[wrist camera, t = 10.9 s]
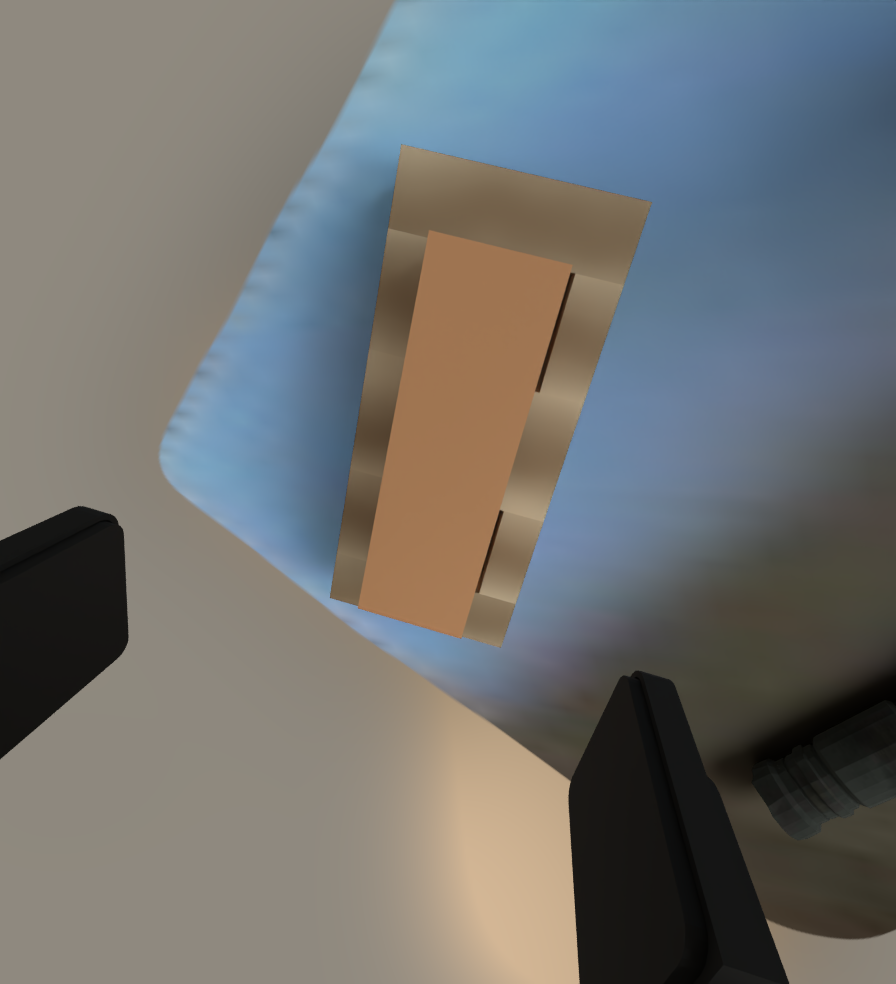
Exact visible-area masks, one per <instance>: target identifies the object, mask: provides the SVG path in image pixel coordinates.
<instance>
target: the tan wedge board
mask: <svg viewBox="0 0 896 984" xmlns="http://www.w3.org/2000/svg"><path fill="white" fill-rule="evenodd" d="M572 266H573V265H571V264H567V263H563V262H559V261H555V260H551V259H546V258H542V257H538V256H534V255H530V254H526V253H522V252H518V251H513V250H509V249H505V248H501V247H497V246H493V245H489V244H485V243H480V242H476V241H472V240H468V239H464V238H460V237H456V236H452V235H447V234H443V233H439V232H435V231H431V230H429V233H428V238H427V243H426V248H425V254H424V259H423V264H422V270H421V275H420V280H419V286H418V291H417V296H416V302H415V307H414V312H413V317H412V323H411V328H410V333H409V339H408V344H407V349H406V355H405V360H404V365H403V371H402V376H401V381H400V386H399V392H398V397H397V402H396V408H395V413H394V418H393V424H392V429H391V434H390V440H389V445H388V450H387V456H386V461H385V466H384V471H383V477H382V482H381V487H380V493H379V498H378V503H377V509H376V514H375V519H374V525H373V530H372V535H371V540H370V546H369V551H368V556H367V562H366V567H365V572H364V578H363V583H362V588H361V594H360V599H359V604H358V608H359V609H362V610H365V611H369V612H372V613H376V614H379V615H382V616H386V617H389V618H393V619H396V620H399V621H403V622H406V623H410V624H413V625H416V626H420V627H423V628H427V629H430V630H433V631H437V632H440V633H444V634H447V635H450V636H454V637H457V638H462V634H463V631H464V628H465V624H466V621H467V618H468V614H469V611H470V608H471V604H472V601H473V598H474V594H475V591H476V587H477V584H478V581H479V577H480V574H481V571H482V567H483V564H484V561H485V557H486V554H487V551H488V547H489V544H490V541H491V537H492V534H493V530H494V527H495V524H496V520H497V517H498V514H499V510H500V507H501V504H502V500H503V497H504V494H505V490H506V487H507V484H508V480H509V477H510V473H511V470H512V467H513V463H514V460H515V457H516V453H517V450H518V447H519V443H520V440H521V437H522V433H523V430H524V427H525V423H526V420H527V417H528V413H529V410H530V406H531V403H532V400H533V396H534V393H535V390H536V386H537V383H538V380H539V376H540V373H541V370H542V366H543V363H544V360H545V356H546V353H547V349H548V346H549V343H550V339H551V336H552V333H553V329H554V326H555V323H556V319H557V316H558V313H559V309H560V306H561V303H562V299H563V296H564V292H565V289H566V286H567V282H568V279H569V276H570V272H571V269H572Z"/></svg>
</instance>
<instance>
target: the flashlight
mask: <svg viewBox="0 0 896 984" xmlns="http://www.w3.org/2000/svg"><path fill="white" fill-rule="evenodd" d="M752 772H753V780H752V784H753V785H754V787H755V788H756V790H757V791H758V793H759V794H760V796H761V797H762V799H763V800H764V802H765V803H766V805H767V806H768V808H769V810H770V812H771V814H772V816H773V818H774V819H775V820H776V821H777V823H778V824H779V825H780V826H781V827H782V829H783V830H784V831H785V832H786V833H787V834H788V835H789V836H791V837H792V838H794V839H796V840H802V839H808V838H810V837H812V836H814V835H816V834H817V833H819V832H821V824H822V823H824V822H827V821H829V820H830V819H834V818H836V817H838V816H840V817H842V818H847V817H849V816H851V815H854V809H857V808H859V804H861V805H863V806H866V807H869V808H872V807H874V806H877V805H879V804H881V803H884V802H886V801H888V800H891V799H893V798H895V797H896V703H893V702H891V701H886V700H884V701H882V702H880V703H878V704H876V705H874V706H872V707H871V708H869V709H867V710H865V711H863V712H861V713H859V714H857V715H855V716H853V717H851V718H849V719H847V720H845V721H843V722H842V723H840V724H838V725H836V726H834V727H832V728H830V729H828V730H826V731H824V732H822V733H820V734H818V735H816V736H814V738H813V745H811V744H809V745H807V746H805V747H804V746H802V745H799V746H797V747H795V748H793V749H792V753H791V754H789V755H787V756H786V757H785V758H784V757H783V758H781V759H779V760H777V761H773V760H771V759H766V760H763V761H761V762H759V763H757V764H755V765H754V767H753V769H752Z"/></svg>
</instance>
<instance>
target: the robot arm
mask: <svg viewBox="0 0 896 984" xmlns="http://www.w3.org/2000/svg"><path fill="white" fill-rule="evenodd" d="M127 643H128V616H127V595H126V572H125V551H124V533H123V529H122V528H121V526H119V525H118V521H117V519H116V518H115V517H114V516H113V515H111V514H108V513H104V512H101V511H97V510H94V509H91V508H87V507H83V506H82V507H81V506H78V507H74V508H72V509H69V510H67V511H65V512H63V513H60V514H59V515H56V516H54V517H52V518H49V519H47V520H45V521H43V522H41V523H38V524H36V525H34V526H32V527H29V528H27V529H25V530H23V531H21V532H18V533H16V534H14V535H12V536H10V537H7V538H5V539H3V540H1V541H0V759H1V758H2V757H3V756H4V755H6V754H7V753H8V752H9V751H10V750H12V749H13V748H14V747H15V746H16V745H17V744H18V743H20V742H21V741H22V740H23V739H24V738H25V737H27V736H28V735H29V734H30V733H31V732H33V731H34V730H35V729H36V728H37V727H38V726H39V725H41V724H42V723H43V722H44V721H45V720H46V719H48V718H49V717H50V716H51V715H52V714H53V713H55V712H56V711H57V710H58V709H59V708H60V707H62V706H63V705H64V704H65V703H66V702H67V701H68V700H70V699H71V698H72V697H73V696H74V695H75V694H77V693H78V692H79V691H80V690H81V689H82V688H84V687H85V686H86V685H87V684H88V683H90V682H91V681H92V680H93V679H94V678H95V677H96V676H98V675H99V674H100V673H101V672H102V671H104V670H105V668H107V667H108V666H109V665H110V664H112V663H113V662H114V661H115V660H116V659H117V658H118V657H119V656H120V655H121V654H122V653H123V651H124V650H125V648H126V645H127ZM569 817H570V834H571V849H572V867H573V883H574V899H575V914H576V931H577V947H578V963H579V978H580V979H579V980H580V984H789V981H788V979H787V976H786V973H785V970H784V968H783V965H782V963H781V960H780V957H779V954H778V951H777V949H776V946H775V943H774V940H773V938H772V935H771V932H770V930H769V927H768V924H767V921H766V919H765V916H764V913H763V911H762V908H761V905H760V902H759V900H758V897H757V894H756V891H755V889H754V886H753V883H752V881H751V878H750V875H749V872H748V870H747V867H746V864H745V861H744V859H743V856H742V853H741V851H740V848H739V845H738V842H737V840H736V837H735V834H734V832H733V829H732V826H731V823H730V821H729V818H728V815H727V812H726V810H725V807H724V804H723V802H722V799H721V796H720V794H719V792H718V790H717V788H716V786H715V784H714V783H713V782H712V780H711V779H710V778H709V777H707V775H706V772H705V769H704V767H703V764H702V761H701V758H700V755H699V752H698V750H697V747H696V744H695V741H694V738H693V735H692V733H691V730H690V727H689V724H688V721H687V718H686V716H685V713H684V710H683V707H682V704H681V702H680V699H679V696H678V693H677V690H676V687H675V685H674V683H673V682H672V681H671V680H669V679H665V678H662V677H659V676H655V675H652V674H649V673H645V672H642V671H635V672H634V673H633V674H632V675H631V677H628V676H622V677H621V678H620V679H619V681H618V683H617V685H616V687H615V689H614V691H613V694H612V696H611V698H610V700H609V702H608V704H607V706H606V708H605V710H604V712H603V714H602V716H601V719H600V721H599V723H598V725H597V727H596V729H595V731H594V733H593V735H592V737H591V739H590V741H589V744H588V746H587V748H586V750H585V752H584V754H583V756H582V758H581V760H580V762H579V764H578V766H577V769H576V771H575V773H574V775H573V777H572V780H571V783H570V788H569Z"/></svg>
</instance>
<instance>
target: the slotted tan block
mask: <svg viewBox="0 0 896 984" xmlns="http://www.w3.org/2000/svg"><path fill="white" fill-rule="evenodd" d="M651 204H652V202H649V201H645V200H641V199H636V198H632V197H628V196H623V195H619V194H615V193H610V192H606V191H602V190H597V189H593V188H589V187H584V186H580V185H576V184H571V183H567V182H563V181H558V180H554V179H550V178H545V177H541V176H537V175H532V174H528V173H524V172H519V171H515V170H510V169H506V168H502V167H497V166H493V165H489V164H484V163H480V162H476V161H471V160H467V159H463V158H458V157H454V156H450V155H445V154H441V153H437V152H432V151H428V150H424V149H419V148H415V147H411V146H406V145H402V144H401V150H400V156H399V163H398V169H397V175H396V182H395V188H394V194H393V201H392V207H391V213H390V220H389V226H388V232H387V239H386V245H385V251H384V258H383V264H382V270H381V277H380V283H379V289H378V296H377V302H376V308H375V315H374V321H373V327H372V334H371V340H370V346H369V353H368V359H367V365H366V372H365V378H364V384H363V391H362V397H361V403H360V410H359V416H358V422H357V429H356V435H355V441H354V448H353V454H352V460H351V467H350V473H349V479H348V486H347V492H346V498H345V505H344V511H343V517H342V524H341V530H340V536H339V543H338V549H337V555H336V562H335V568H334V574H333V581H332V587H331V593H330V598H332V599H336V600H339V601H343V602H346V603H349V604H353V605H356V606H358V604H359V599H360V594H361V588H362V583H363V578H364V572H365V567H366V562H367V556H368V551H369V546H370V540H371V535H372V530H373V525H374V519H375V514H376V509H377V503H378V498H379V493H380V487H381V482H382V477H383V471H384V466H385V461H386V456H387V450H388V445H389V440H390V434H391V429H392V424H393V418H394V413H395V408H396V402H397V397H398V392H399V386H400V381H401V376H402V371H403V365H404V360H405V355H406V349H407V344H408V339H409V333H410V328H411V323H412V317H413V312H414V307H415V302H416V296H417V291H418V286H419V280H420V275H421V270H422V264H423V259H424V254H425V248H426V243H427V238H428V233H429V230H431V231H435V232H439V233H443V234H447V235H452V236H456V237H460V238H464V239H468V240H472V241H476V242H480V243H485V244H489V245H493V246H497V247H501V248H505V249H509V250H513V251H518V252H522V253H526V254H530V255H534V256H538V257H542V258H546V259H551V260H555V261H559V262H563V263H567V264H571V265H573V266H572V269H571V272H570V276H569V279H568V282H567V286H566V289H565V292H564V296H563V299H562V303H561V306H560V309H559V313H558V316H557V319H556V323H555V326H554V329H553V333H552V336H551V339H550V343H549V346H548V349H547V353H546V356H545V360H544V363H543V366H542V370H541V373H540V376H539V380H538V383H537V386H536V390H535V393H534V396H533V400H532V403H531V406H530V410H529V413H528V417H527V420H526V423H525V427H524V430H523V433H522V437H521V440H520V443H519V447H518V450H517V453H516V457H515V460H514V463H513V467H512V470H511V473H510V477H509V480H508V484H507V487H506V490H505V494H504V497H503V500H502V504H501V507H500V511H499V514H498V518H497V521H496V525H495V528H494V531H493V535H492V538H491V541H490V545H489V548H488V551H487V555H486V558H485V561H484V564H483V567H482V571H481V574H480V577H479V581H478V584H477V587H476V591H475V594H474V598H473V601H472V604H471V608H470V611H469V614H468V618H467V621H466V624H465V628H464V631H463V634H462V637H466V638H469V639H472V640H476V641H479V642H483V643H486V644H489V645H493V646H496V647H500V648H501V646H502V643H503V640H504V637H505V634H506V631H507V628H508V625H509V622H510V619H511V616H512V613H513V610H514V607H515V604H516V601H517V598H518V595H519V593H520V590H521V587H522V584H523V581H524V578H525V575H526V572H527V569H528V566H529V563H530V560H531V557H532V554H533V551H534V548H535V545H536V542H537V540H538V537H539V534H540V531H541V528H542V525H543V522H544V519H545V516H546V513H547V510H548V507H549V504H550V501H551V498H552V495H553V492H554V489H555V486H556V484H557V481H558V478H559V475H560V472H561V469H562V466H563V463H564V460H565V457H566V454H567V451H568V448H569V445H570V442H571V439H572V436H573V433H574V430H575V428H576V425H577V422H578V419H579V416H580V413H581V410H582V407H583V404H584V401H585V398H586V395H587V392H588V389H589V386H590V383H591V380H592V377H593V375H594V372H595V369H596V366H597V363H598V360H599V357H600V354H601V351H602V348H603V345H604V342H605V339H606V336H607V333H608V330H609V327H610V324H611V321H612V319H613V316H614V313H615V310H616V307H617V304H618V301H619V298H620V295H621V292H622V289H623V286H624V283H625V280H626V277H627V274H628V271H629V268H630V266H631V263H632V260H633V257H634V254H635V251H636V248H637V245H638V242H639V239H640V236H641V233H642V230H643V227H644V224H645V221H646V218H647V215H648V212H649V210H650V207H651Z"/></svg>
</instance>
